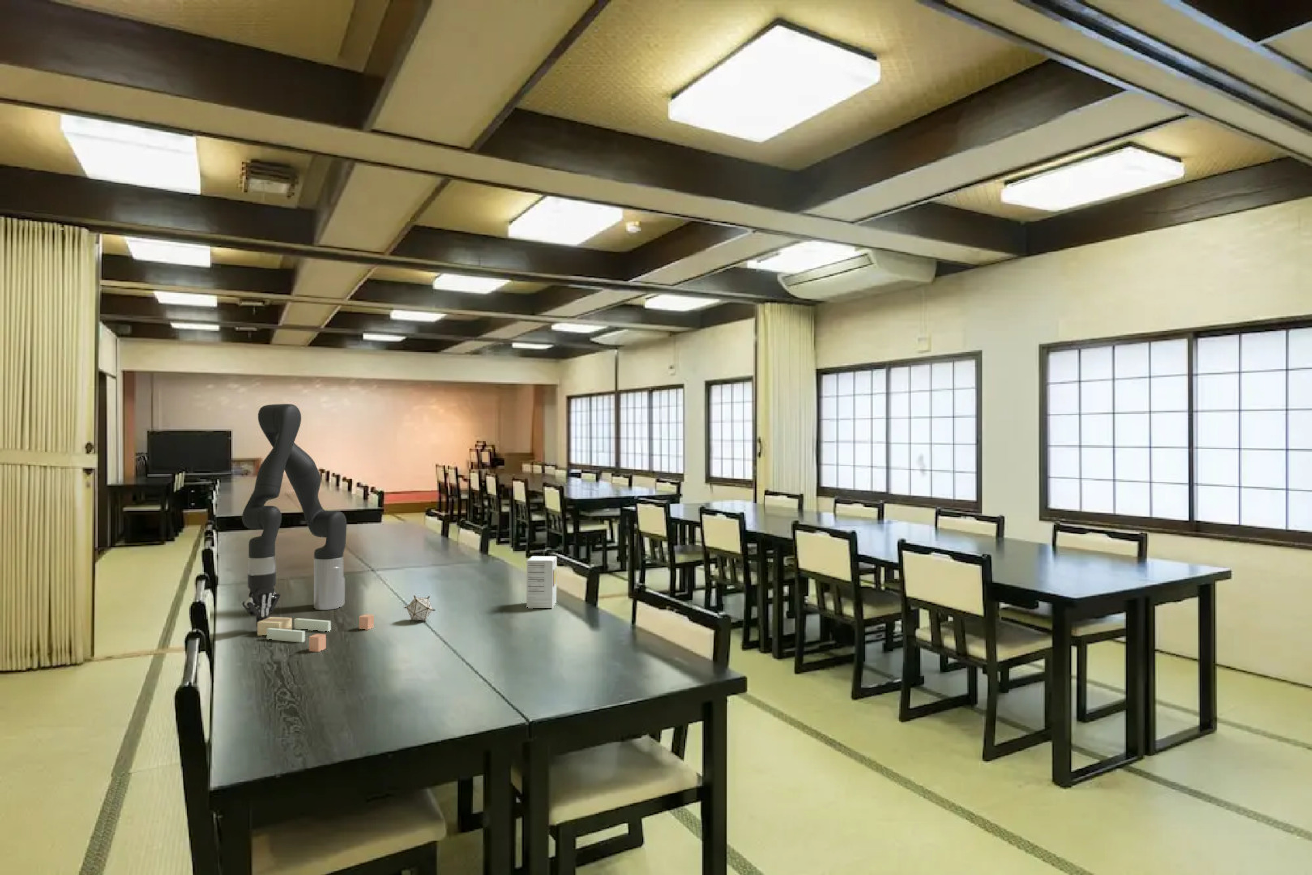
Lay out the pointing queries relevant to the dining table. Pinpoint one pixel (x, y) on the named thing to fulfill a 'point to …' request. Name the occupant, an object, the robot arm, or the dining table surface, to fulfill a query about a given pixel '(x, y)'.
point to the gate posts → (319, 640)
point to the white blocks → (297, 634)
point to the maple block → (273, 624)
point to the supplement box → (541, 581)
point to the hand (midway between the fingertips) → (261, 628)
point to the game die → (419, 608)
